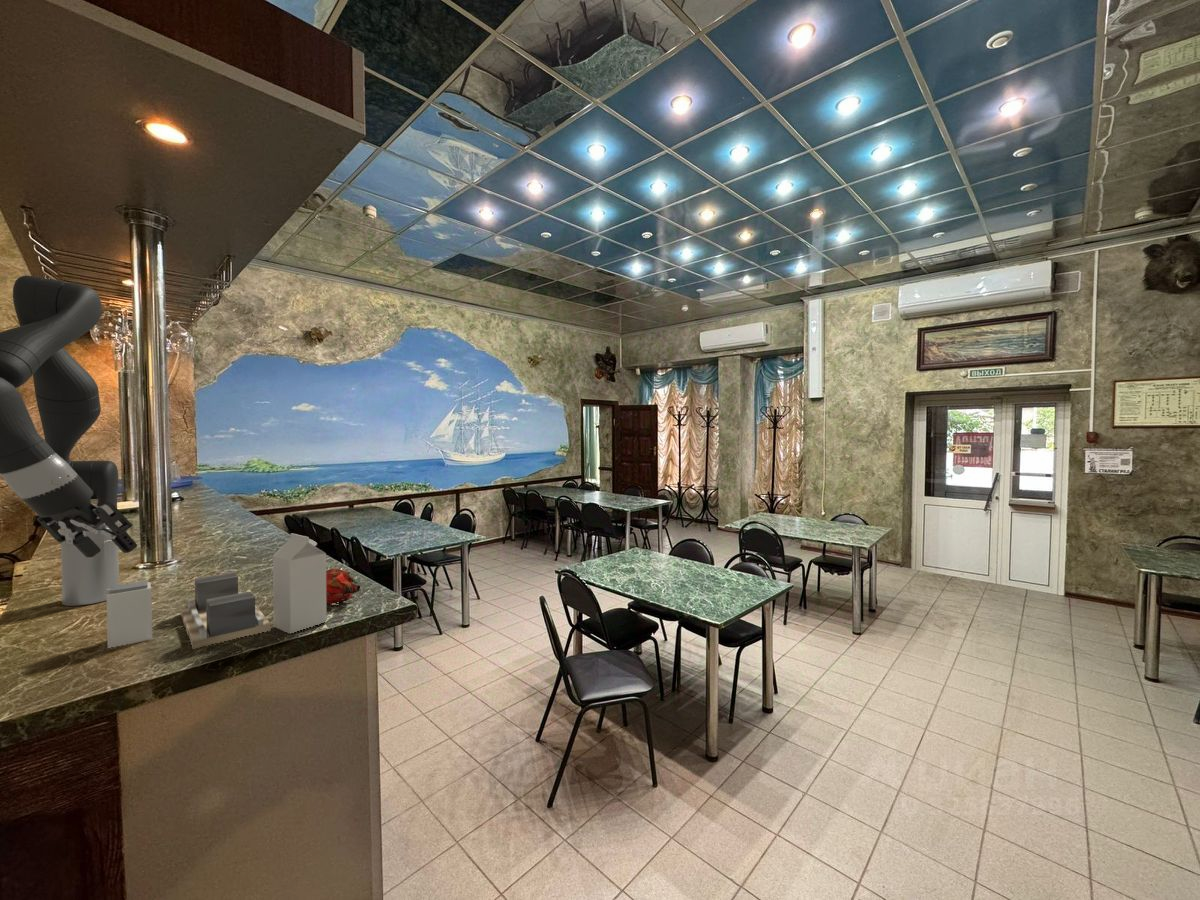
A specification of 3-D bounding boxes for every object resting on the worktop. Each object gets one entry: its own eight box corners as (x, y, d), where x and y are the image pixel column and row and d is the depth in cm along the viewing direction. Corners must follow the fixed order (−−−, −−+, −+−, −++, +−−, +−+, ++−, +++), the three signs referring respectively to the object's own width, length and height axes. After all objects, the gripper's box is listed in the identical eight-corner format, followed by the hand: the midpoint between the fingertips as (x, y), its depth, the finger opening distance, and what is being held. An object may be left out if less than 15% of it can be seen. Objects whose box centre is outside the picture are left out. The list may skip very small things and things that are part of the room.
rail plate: (180, 614, 104) (179, 580, 103) (247, 601, 112) (247, 570, 112) (192, 649, 87) (192, 609, 87) (270, 630, 96) (270, 594, 95)
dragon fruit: (326, 601, 117) (350, 619, 110) (297, 589, 111) (320, 607, 104) (349, 570, 120) (373, 586, 114) (321, 557, 114) (345, 572, 107)
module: (108, 640, 91) (106, 586, 90) (151, 631, 95) (149, 579, 95) (107, 648, 87) (106, 592, 87) (152, 639, 91) (151, 585, 91)
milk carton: (290, 635, 94) (289, 540, 93) (273, 627, 97) (272, 536, 97) (326, 623, 100) (326, 534, 99) (309, 616, 103) (308, 530, 103)
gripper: (102, 467, 85) (161, 535, 93) (38, 476, 87) (101, 542, 95) (59, 491, 78) (126, 562, 86) (-9, 501, 80) (62, 570, 88)
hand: (113, 552), depth 90 cm, fingers open, 8 cm apart
